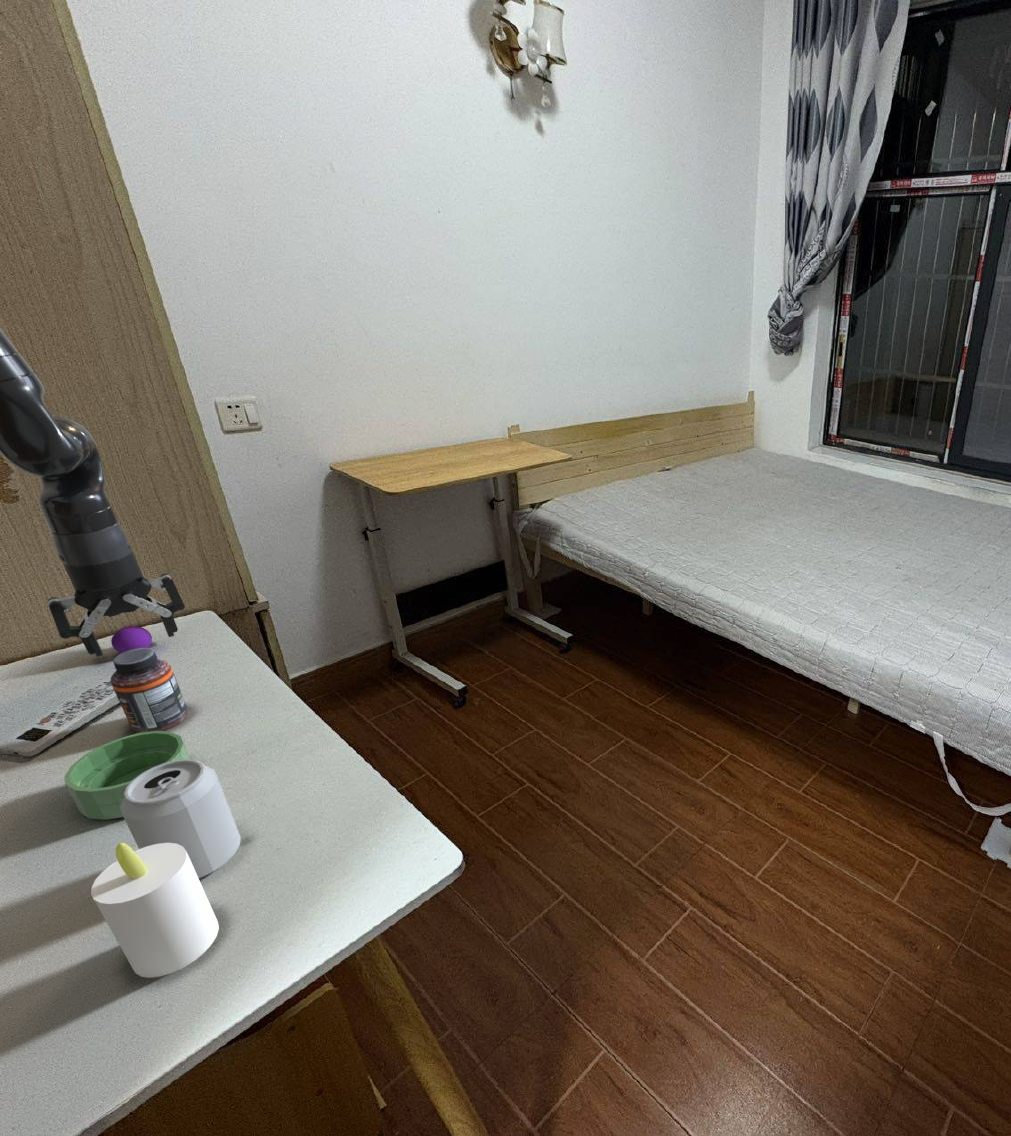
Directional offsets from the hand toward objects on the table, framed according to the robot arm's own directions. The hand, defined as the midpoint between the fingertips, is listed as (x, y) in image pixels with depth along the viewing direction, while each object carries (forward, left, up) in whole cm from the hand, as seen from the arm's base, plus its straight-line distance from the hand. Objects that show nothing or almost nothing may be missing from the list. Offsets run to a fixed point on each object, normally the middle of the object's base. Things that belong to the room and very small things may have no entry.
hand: (136, 644), depth 100 cm
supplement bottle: (+15, -18, -2) cm, 23 cm away
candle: (+38, -52, -2) cm, 64 cm away
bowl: (+21, -31, -1) cm, 37 cm away
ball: (0, 0, +1) cm, 1 cm away
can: (+34, -42, -2) cm, 54 cm away
